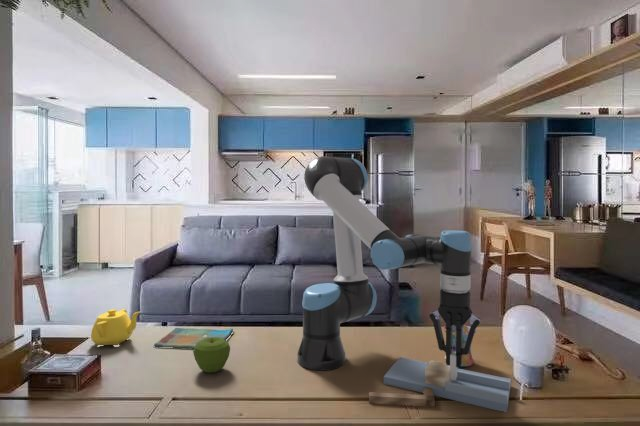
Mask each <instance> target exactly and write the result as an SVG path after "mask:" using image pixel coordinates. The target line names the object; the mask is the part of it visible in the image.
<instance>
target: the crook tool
mask: <svg viewBox="0 0 640 426" xmlns="http://www.w3.org/2000/svg"><path fill="white" fill-rule="evenodd" d="M368 398H369V399H368V402H369V403H368V404H379V405H393V406H395V405H396V406H410V405H413V406H412V407H425V408H435V406H436V405H435V404H436V403H435V402H436V401H435V396H434V395H433V393H432V390H431V388H423V393H422V394H410V393H396V392H395V393H392V392H374V391H373V392H371V391H368Z"/></svg>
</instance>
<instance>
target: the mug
mask: <svg viewBox="0 0 640 426" xmlns="http://www.w3.org/2000/svg"><path fill="white" fill-rule="evenodd" d="M470 327H471V326H468V325H465V324H464V325H463V338H462V348H464V347H465V344H466V341H467V337H468V334H469V330H470ZM443 331H444V332H445V334H446V325H444V327H443ZM476 332H477V331H476V330H475V333H474V336H473V338H474V337H475V334H476ZM452 348H453V349H452V351H453V352H456V326H455V325H453V333H452ZM444 360H445V361H446V355H444ZM474 363H475V361H474V358H473V356H472V346H471V347H470V350H469V352H468V354H467V355H465V354H464V355H462V364H461V367H471V366H472V365H474Z"/></svg>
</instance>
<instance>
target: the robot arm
mask: <svg viewBox="0 0 640 426" xmlns="http://www.w3.org/2000/svg"><path fill="white" fill-rule="evenodd" d="M303 179H304V180H303V181H304V183H305V187H306V188H307V190H308V192H310V194H311V195H312V196H313V197H314V198H315V199H316V200H318V201H323V202H324V204H326V206H327V207H328V208H329V209H331V211H332V215H333V228H334V240H335V241H334V242H335V255H336V256H335V257H336V266H337V267H336V270H337V275H336V276H335V277H334V278H333V282H323V283H317V284H313V285H311V286H308V287H307V288H306V289H305V290H304V291H303V294H302V304H301V305H302V338H301V341H300V344H299V348H298V351H297V364H299V365H300V366H301V367H303V368H306V369H308V370H313V371H328V370H333V369H339V368H340V367H341V366H343V365H345V363H346V350H345V348H344V344H343V342H342V339H341V324H342V323H345V322H350V321H353V320H356V319H361V318H364V317H366V316H368V315H370V314H371V313H372V312H373V311H374V309H375V307H376V304H377V300H378V299H377V298H378V297H377V291H376V289H375V288H374V286H373V284H372V283H371V282H369V276H368V275H366V274H365V273H364V267H363V266H364V265H363V264H364V263H363V254H362V253H363V252H362V242H363V244H365V245H366V246H367V247H368V248H369V249H370V258H371V260H372V264H373V265H374V266H375V267H376V268H378V269H380V270H396V269H398V268H402V267H403V268H404V267H407V266H409V267H410V266H414V265H419V264H432V265H437V266H440V274H439V275H440V279H439V281H440V283H439V287H440V288H441V289H440V290H439V306H438V307H437V310H435V311H432V312H430V313H429V318H430V320H431V321H432V323H433V329H434V333H435V336H436V340H437V341H436V342H437V345H438V350H440V351H442V352H445V356H446V360H445V363H446V364H447V365H449V366H450V379H451V380H456V378H457V368H458V369H459V368H461V367H462V366H461V364H462V355H464V354H465V355H467V354H468V352H469V350H470V347H471V348H472V343H473V339H474V337H475V334H476V332H475V331H476V330H477V327H478V326H479V325H480V323H481V321H482V319H481V318H480V317H476V316H475V315H474V314H473V312H472V309H471V292H470V290H471V286H472V284H471V283H472V282H471V280H472V278H471V277H472V274H471V265H472V263H471V262H472V260H471V259H472V249H473V248H472V235H471V233H470V232H468V231H466V230H453V229H452V230H450V229H449V230H448V229H447V230H442V231H441V233H440V236H432V235H425V234H424V235H421V234H406V235H405V236H404V237H399V236H398V235H396V233H394V232H393V231H392V230H391V229H390V228H389V227H388V226H386V224H385V223H383V222H382V221H381V220H380V219H379V218H378V217H377V216H376V215H375V214H374V213H373V212H372V211H371V210H370V209H369V208H367V206H366V205H365V204H363V203H362V201H360V199H361V198H362V197H363V194H362V191H364V189H366V185H367V184H368V180H369V176H368V172H367V169H366V167H365V165H364V164H363V163H362V162H361V161H360V160H358V159H355V158H351V157H341V156H340V157H338V156H337V157H336V156H327V155H326V156H324V155H322V156H318V157H314V159H312V160H311V161H309V162H308V164H307V166H306V168H305V170H304V175H303ZM440 318H442V319H443V322H444V323H445V326H446V333H445V337H444V333H443V329H442V326H441V324H442V323H441V320H440ZM469 319H470V321H469V323H470V325H471V326H469V327H470V330H469V334H468V337H467V341H466V344H465V347H464V348H462V338H463V325H465V324H466V322H468V320H469ZM453 325H455V326H456V352H453V351H452V349H453V348H452V333H453ZM474 333H475V334H474ZM473 336H474V337H473ZM444 338H445V339H444Z"/></svg>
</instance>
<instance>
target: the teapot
mask: <svg viewBox="0 0 640 426" xmlns="http://www.w3.org/2000/svg"><path fill="white" fill-rule="evenodd" d="M140 313H142V311H136V312H134V313H133V314H132V316H131V318H130V316H129V314H128V313H127V309H125V308H122V309H120V310H118V311H117V309H114V308H113V309H108V310H107V312H103V313H102V314H100V315H98V317H97V318H96V320H95V322H94V323H93V326H92V328H91V334H90V339H91V341H92V342H93V343H94V344H95V345H104V346H105V345H106V346H107V345H112V346H113V345H118V344H120V345H121V343H123V342H126V341H125V340H127V339H129V338H131V336H132V335H133V332H134V330H135V329H136V327H137V317H138V315H139V314H140Z"/></svg>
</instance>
